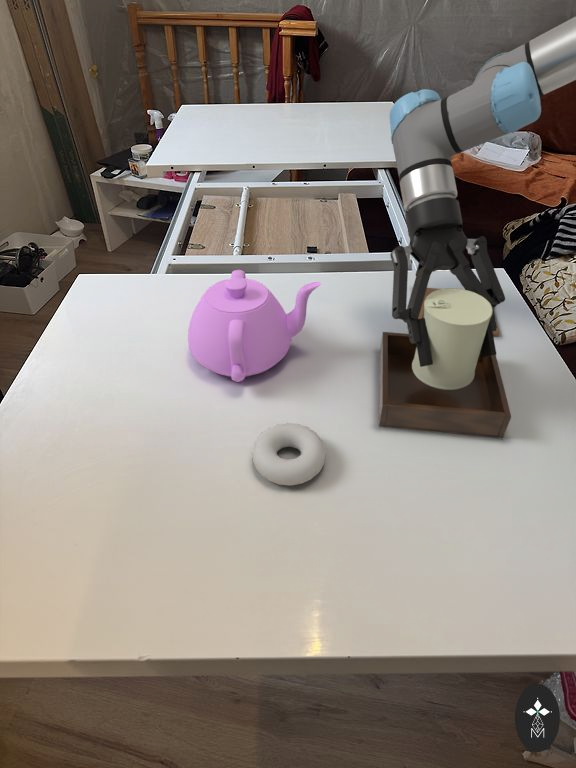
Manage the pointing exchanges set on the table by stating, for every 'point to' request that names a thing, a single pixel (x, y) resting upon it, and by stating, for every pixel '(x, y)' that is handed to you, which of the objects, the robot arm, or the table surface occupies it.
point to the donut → (283, 468)
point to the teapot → (244, 326)
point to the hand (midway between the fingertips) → (458, 360)
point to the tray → (439, 395)
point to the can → (453, 337)
